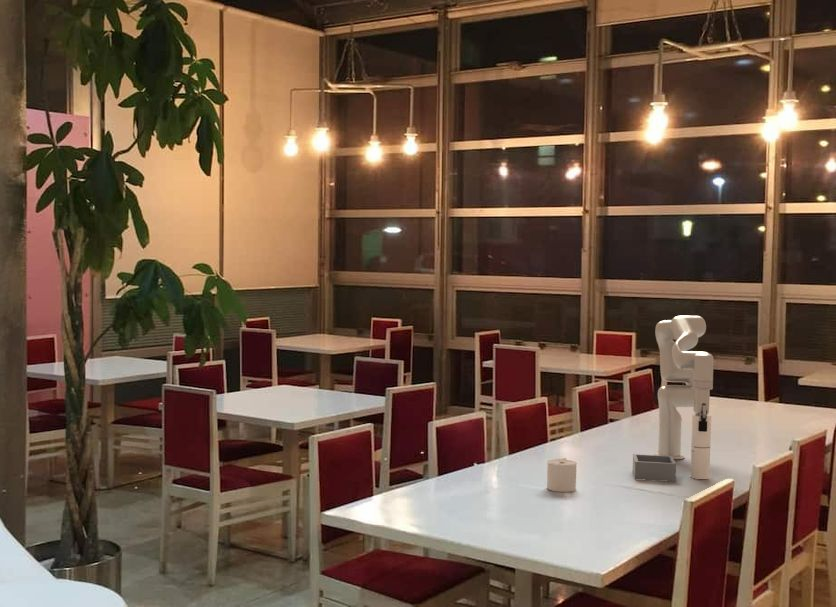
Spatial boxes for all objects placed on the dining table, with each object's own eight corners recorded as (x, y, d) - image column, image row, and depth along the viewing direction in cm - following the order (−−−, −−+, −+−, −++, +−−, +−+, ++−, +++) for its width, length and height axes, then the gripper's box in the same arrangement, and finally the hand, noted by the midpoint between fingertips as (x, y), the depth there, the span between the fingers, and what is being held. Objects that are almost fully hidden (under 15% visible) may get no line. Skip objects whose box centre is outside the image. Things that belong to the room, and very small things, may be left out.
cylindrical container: (702, 480, 371) (704, 417, 370) (686, 477, 376) (688, 414, 375) (712, 478, 376) (714, 415, 374) (697, 475, 381) (699, 413, 380)
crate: (632, 471, 386) (633, 454, 386) (671, 473, 383) (672, 456, 383) (634, 479, 371) (635, 461, 370) (675, 481, 368) (676, 463, 368)
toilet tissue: (553, 492, 346) (554, 465, 346) (540, 485, 358) (541, 459, 357) (580, 491, 349) (581, 464, 349) (567, 484, 360) (567, 458, 360)
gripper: (690, 382, 384) (688, 425, 384) (695, 387, 367) (694, 433, 367) (709, 382, 382) (708, 426, 383) (715, 388, 365) (714, 433, 366)
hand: (701, 429), depth 375 cm, fingers closed on cylindrical container, 7 cm apart
